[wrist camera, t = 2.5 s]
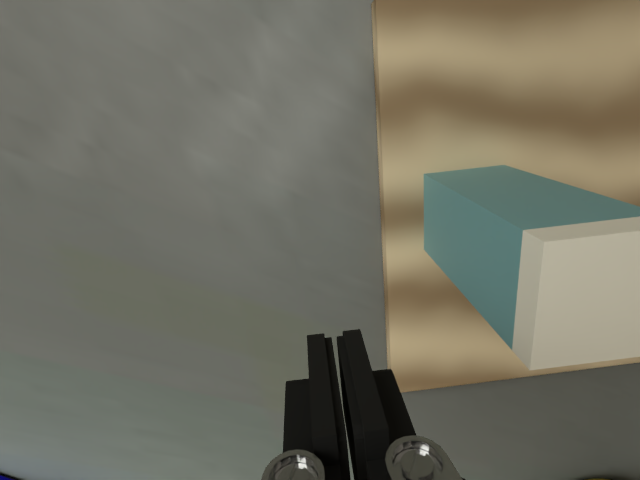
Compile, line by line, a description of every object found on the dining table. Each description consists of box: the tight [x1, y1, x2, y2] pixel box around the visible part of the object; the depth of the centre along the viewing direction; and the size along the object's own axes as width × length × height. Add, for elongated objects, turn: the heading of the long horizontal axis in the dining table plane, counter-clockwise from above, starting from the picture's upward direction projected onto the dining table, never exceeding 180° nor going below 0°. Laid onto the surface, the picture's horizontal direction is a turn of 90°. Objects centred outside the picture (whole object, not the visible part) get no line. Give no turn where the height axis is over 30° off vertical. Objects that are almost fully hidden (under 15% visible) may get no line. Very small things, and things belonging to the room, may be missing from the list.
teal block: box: [424, 165, 640, 370], centre depth 19 cm, size 5×5×12 cm
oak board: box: [371, 0, 640, 393], centre depth 25 cm, size 26×24×1 cm
